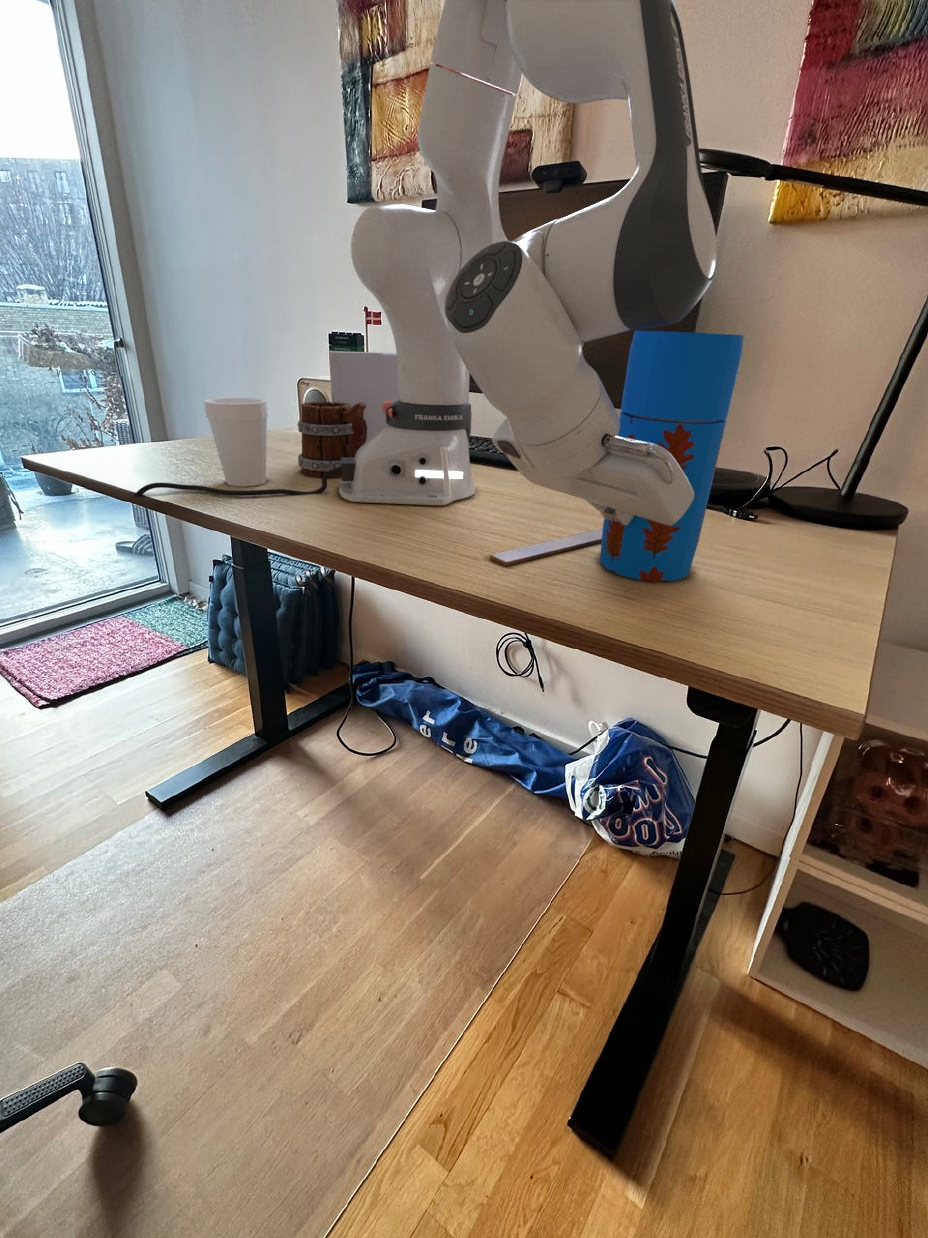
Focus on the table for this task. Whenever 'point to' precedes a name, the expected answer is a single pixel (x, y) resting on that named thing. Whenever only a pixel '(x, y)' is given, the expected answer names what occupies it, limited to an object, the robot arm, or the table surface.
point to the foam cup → (240, 438)
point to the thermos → (673, 440)
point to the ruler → (547, 548)
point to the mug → (330, 435)
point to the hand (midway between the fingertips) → (620, 517)
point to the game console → (365, 383)
